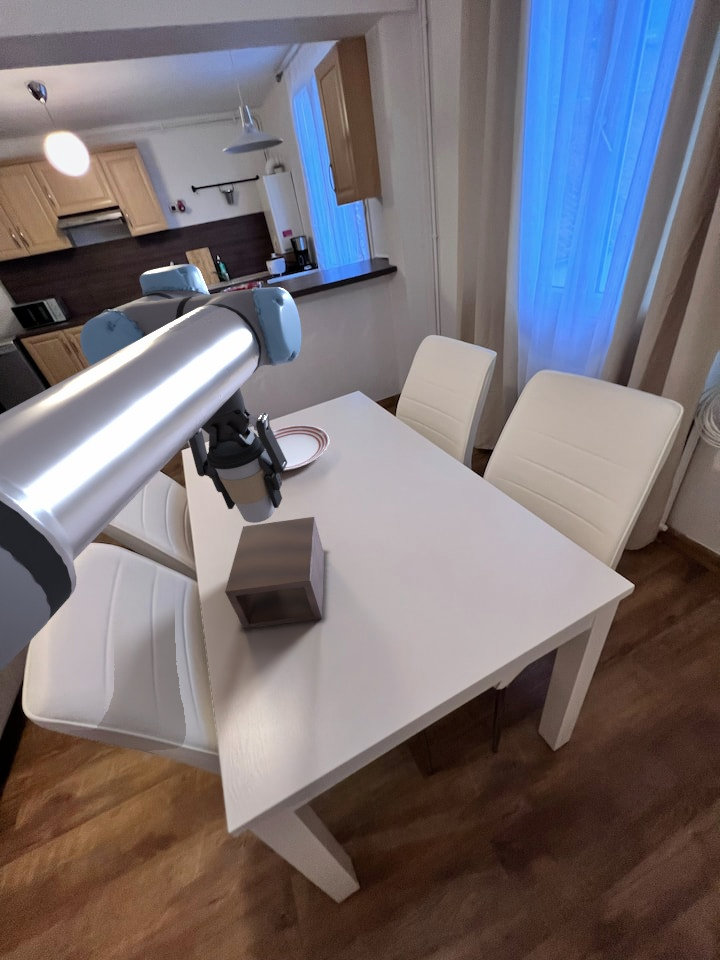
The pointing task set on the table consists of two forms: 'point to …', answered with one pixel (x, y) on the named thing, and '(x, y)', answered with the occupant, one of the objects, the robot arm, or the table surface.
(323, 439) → the dinner plate
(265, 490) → the coffee cup
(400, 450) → the table surface
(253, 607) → the wooden cubby box
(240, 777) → the table surface
